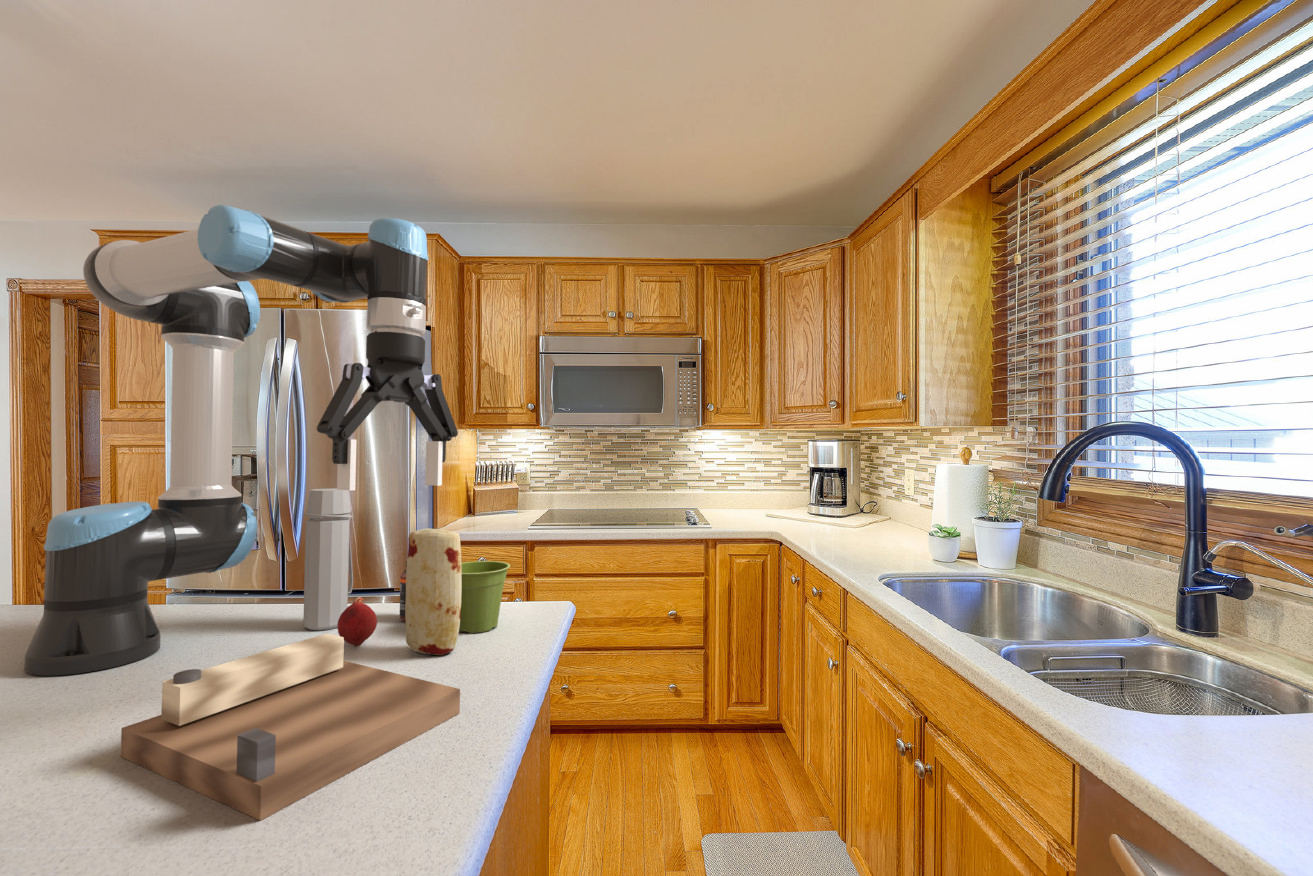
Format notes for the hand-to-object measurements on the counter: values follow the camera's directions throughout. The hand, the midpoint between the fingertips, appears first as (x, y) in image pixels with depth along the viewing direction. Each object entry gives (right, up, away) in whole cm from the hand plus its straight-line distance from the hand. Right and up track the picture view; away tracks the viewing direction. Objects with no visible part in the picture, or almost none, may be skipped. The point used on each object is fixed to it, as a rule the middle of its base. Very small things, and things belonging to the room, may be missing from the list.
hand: (392, 487), depth 82 cm
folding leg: (-11, -24, -11) cm, 28 cm away
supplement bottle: (-10, -28, +32) cm, 44 cm away
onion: (-13, -28, +16) cm, 34 cm away
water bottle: (-24, -28, +28) cm, 46 cm away
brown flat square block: (-4, -27, -14) cm, 31 cm away
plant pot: (+3, -28, +27) cm, 39 cm away
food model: (0, -28, +14) cm, 31 cm away
